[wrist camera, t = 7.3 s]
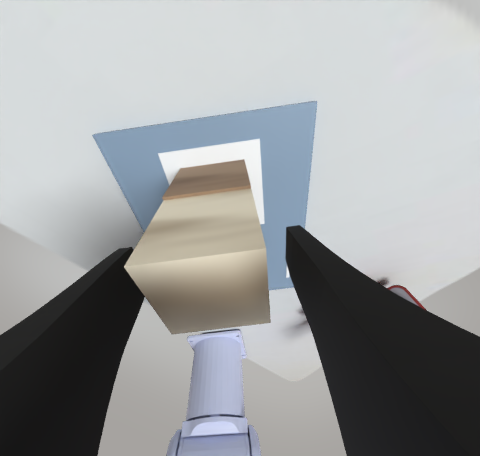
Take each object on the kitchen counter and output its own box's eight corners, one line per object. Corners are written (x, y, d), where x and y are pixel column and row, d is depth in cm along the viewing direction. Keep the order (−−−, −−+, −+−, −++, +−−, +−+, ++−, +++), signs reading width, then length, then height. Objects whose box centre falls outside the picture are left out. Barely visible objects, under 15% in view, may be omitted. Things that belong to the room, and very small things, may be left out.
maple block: (257, 253, 12) (270, 322, 8) (188, 262, 12) (171, 334, 9) (251, 188, 9) (266, 248, 6) (163, 200, 10) (123, 267, 6)
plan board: (297, 283, 22) (299, 287, 22) (181, 297, 23) (180, 301, 22) (314, 101, 12) (317, 101, 11) (96, 133, 12) (91, 135, 12)
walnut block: (250, 214, 16) (257, 251, 12) (196, 221, 16) (187, 260, 12) (244, 159, 13) (250, 185, 9) (180, 168, 13) (162, 197, 9)
